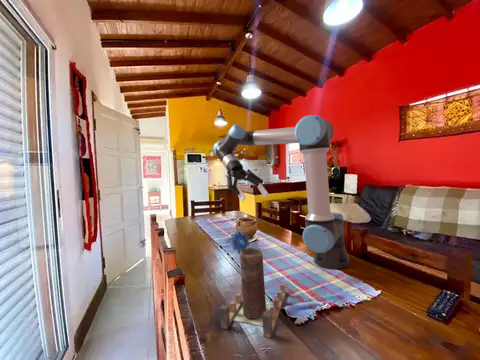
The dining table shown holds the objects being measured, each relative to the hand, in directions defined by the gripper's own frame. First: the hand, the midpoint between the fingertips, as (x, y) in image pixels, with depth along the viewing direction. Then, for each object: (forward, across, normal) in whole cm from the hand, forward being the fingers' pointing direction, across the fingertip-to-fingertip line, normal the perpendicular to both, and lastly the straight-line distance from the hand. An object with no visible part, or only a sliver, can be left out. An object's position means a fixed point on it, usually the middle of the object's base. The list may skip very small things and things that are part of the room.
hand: (255, 197), depth 108 cm
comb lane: (+38, +22, -8) cm, 45 cm away
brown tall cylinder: (+39, +24, -7) cm, 47 cm away
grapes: (+7, -7, -39) cm, 40 cm away
